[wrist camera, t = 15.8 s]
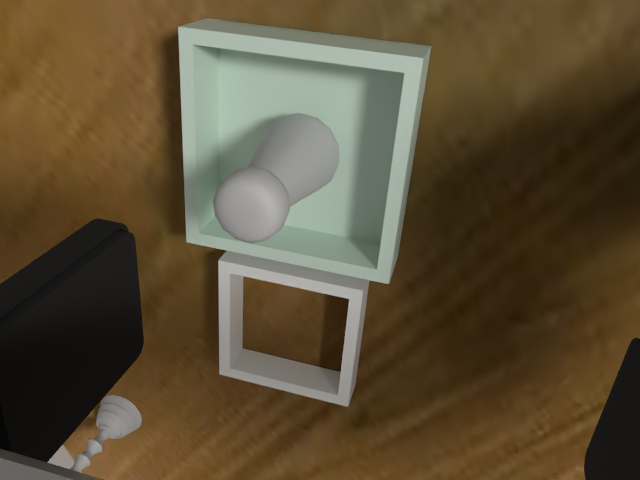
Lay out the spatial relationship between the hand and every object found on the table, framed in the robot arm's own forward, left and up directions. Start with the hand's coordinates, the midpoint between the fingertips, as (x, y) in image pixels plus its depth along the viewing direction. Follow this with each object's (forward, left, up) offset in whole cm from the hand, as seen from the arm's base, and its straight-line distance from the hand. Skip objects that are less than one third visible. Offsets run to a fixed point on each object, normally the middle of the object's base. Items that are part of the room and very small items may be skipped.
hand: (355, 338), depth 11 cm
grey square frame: (+10, +24, -32) cm, 41 cm away
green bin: (+10, +8, -32) cm, 35 cm away
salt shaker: (+10, +8, -32) cm, 34 cm away
